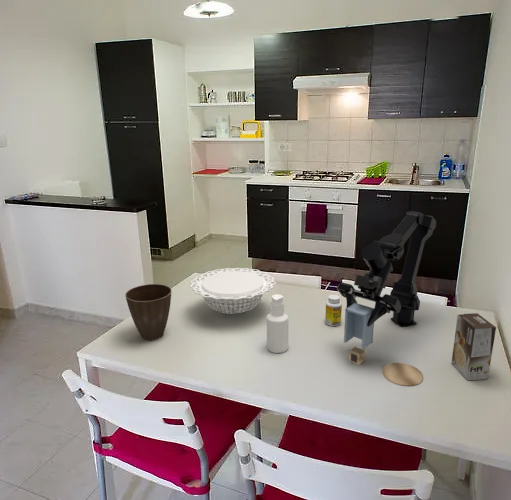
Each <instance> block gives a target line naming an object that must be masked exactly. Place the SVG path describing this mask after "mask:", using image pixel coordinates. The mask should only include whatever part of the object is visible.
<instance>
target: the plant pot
mask: <svg viewBox="0 0 511 500" xmlns="http://www.w3.org/2000/svg"><path fill="white" fill-rule="evenodd" d="M124 296H125V299H126V303H127V307H128V311H129V313H130V316H131V319H132V321H133V324H134V326H135V327H136V329H137V332H138V333H139V336H140V337H141V338H142V339H143V340H145V341H155V340H159V339H161V338H162V337H163V336H164V334H165V331H166V327H167V323H168V319H169V314H170V309H171V302H172V301H171V300H172V288H171V287H170V286H168V285H165V284H159V283H149V284H142V285H138V286H134V287H133V288H130V289H128V291H126V293H125V295H124Z"/></svg>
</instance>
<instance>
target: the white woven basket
mask: <svg viewBox="0 0 511 500" xmlns="http://www.w3.org/2000/svg"><path fill="white" fill-rule="evenodd" d="M189 283H190V286H189V287H190V288H191V291H194V293H195V294H197V295H200V296H202V297H203V299H204V301H205V302H206V304H207V305H208V306H209V307H210V309H213V310H214V311H216V312H218V313H222V314H223V313H224V314H231V315H233V314H240V313H241V314H243V313H246V312H249V311H251V310H253V309H254V308H255V307H256V306H258V304H259V302H260V301H262V298H263V294H265V293H266V292H267V293H268V292H269V290H273V288H274V285H276V284H277V282H276V281H275V278H274V276H271V274H268V273H267V272H266V271H261V270H259V269H255V268H254V269H253V268H247V267H242V268H241V267H227V268H216V269H213V270H209V271H206V272H204V273H201V274H200V275H197V276H195V277H194V278H193V279H192V280H190V282H189ZM260 303H261V302H260Z"/></svg>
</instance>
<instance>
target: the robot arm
mask: <svg viewBox="0 0 511 500" xmlns="http://www.w3.org/2000/svg"><path fill="white" fill-rule="evenodd" d="M436 227H437V219H435V218H434V216H433V215H427V214H424V213H422V212H419V211H418V212H417V211H407V212H405V215H404V217H403V219H402V220H401V221H400V223H398V225H397V226H396V228H395V229H394V230H393V231H392V233H390V234H388V235H384V236H383V237H382V238H381V239H379V240H373V241H372V243H368V244H366V245H365V246H364V247H363V248H362V250H361V253H360V255H361V257H362V258H363V260H364V262H365V264H366V265H367V266H368V268H369V270H368V273H365V274H364V275H360V274H356V276H355V279H354V282H353V285H354V286H357V288H358V289H359V290H357V289H356V288H354V286H353V285H352V284H350V283H346V282H343V281H342V282H340V283H339V284H338V285H337V288H336V290H337V292H338V293H339V294H340V295H341V296H342V297H343V298H346V299H345V300H346V308H348V307H349V306H351V305H352V304H354V303H358V301H357V299H356V298H361V299H364V300H366V301H367V300H368V301H371V302H375V304H374V307H373V308H374V310H373V312H372V314H371V316H370V318H369V320H368V323H367V326H368V327H369V326H371V325H372V324H373V323H374V324H375V322H376V321H378V319H380V318H381V317H383V316H384V315H386V314H390V313H391V312H393V314H392V317H391V318H390V320H391V321H392V322H394V323H395V324H397V325H398V326H399V327H407V326H408V327H409V326H414V325H417V324H418V323H417V321H415V312H416V311H419V310H420V305H421V300H420V298H419V295H418V288H417V284H416V279H417V275H418V271H419V266H420V263H421V259H422V255H423V251H424V247H425V243H426V241H427V240H429V238H431V237H432V235H433V232H434V230H435V229H436ZM409 238H410V241H409V245H408V249H407V252H406V257H405V261H404V265H403V268H402V272H401V276H400V278H399V279H398V280H397V281H394V283H393V287H392V289H391V290H390V294H387V293H385V294H383V296H381V294H382V292H383V289H386V287H387V285H386V283H387V281H388V277H390V276H389V275H390V273H391V272H393V271H394V268H393V264H392V262H391V261H390V260H392V261H399V260H400V259H401V258H402V257H403V255H404V253H405V252H404V251H405V249H404V245H405V243H406V242H407V240H408V239H409Z"/></svg>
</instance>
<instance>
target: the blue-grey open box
mask: <svg viewBox="0 0 511 500" xmlns="http://www.w3.org/2000/svg"><path fill="white" fill-rule="evenodd" d="M374 308H375V307H371V306H367V305H363V304H361V303H358V302H357V303H354V304H352V305H351V306H349V307H348V308H347V307H345V308H344V309H345V314H344V329H343V330H344V332H343V333H344V334H343V343H345V344H346V343H347V342H349V341H351V339H353V338H355V339H359V340H361V349H363V350H366V348H367V347H369V346H370V345H371V344H372V343H373V340H374V339H373V338H374V329H375V328H374V327H375V322H374V323H373V324H372V325H371V326H369V327H368V326H367V323H368V320H369V318H370V316H371V314H372V312H373V310H374Z"/></svg>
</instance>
